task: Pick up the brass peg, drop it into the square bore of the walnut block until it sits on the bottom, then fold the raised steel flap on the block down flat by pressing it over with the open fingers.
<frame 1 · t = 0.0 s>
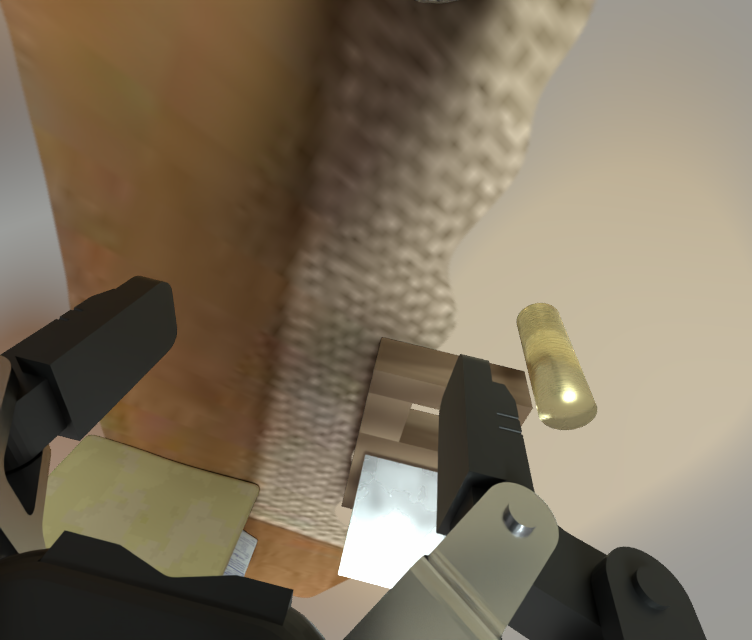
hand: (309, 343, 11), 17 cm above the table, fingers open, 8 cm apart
cheese: (174, 467, 50), on the table
medicine box: (232, 535, 58), on the table
steel flap: (411, 525, 32), point 8 cm above the table, hinge at 60.0°
brass peg: (537, 320, 29), on the table
walnut block: (423, 429, 38), on the table
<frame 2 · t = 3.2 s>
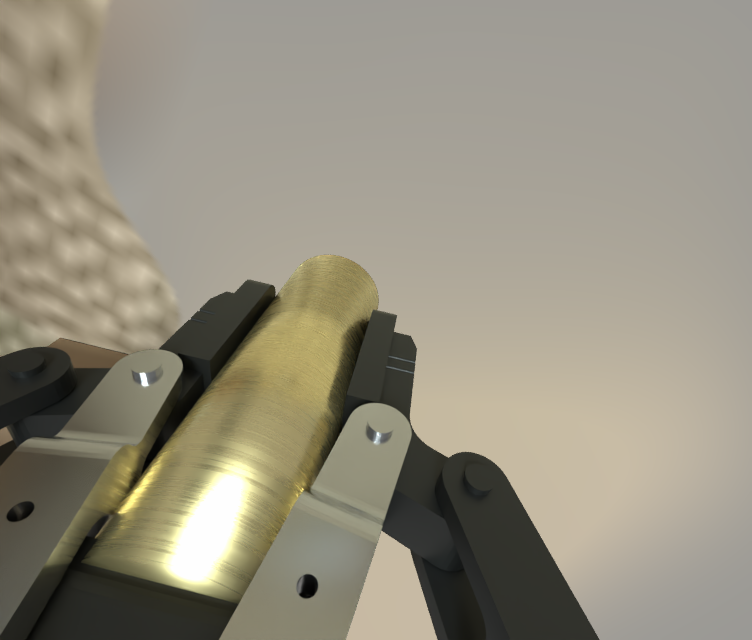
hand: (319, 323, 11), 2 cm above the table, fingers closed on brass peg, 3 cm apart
brass peg: (333, 297, 13), on the table, touching gripper
walnut block: (213, 505, 21), on the table
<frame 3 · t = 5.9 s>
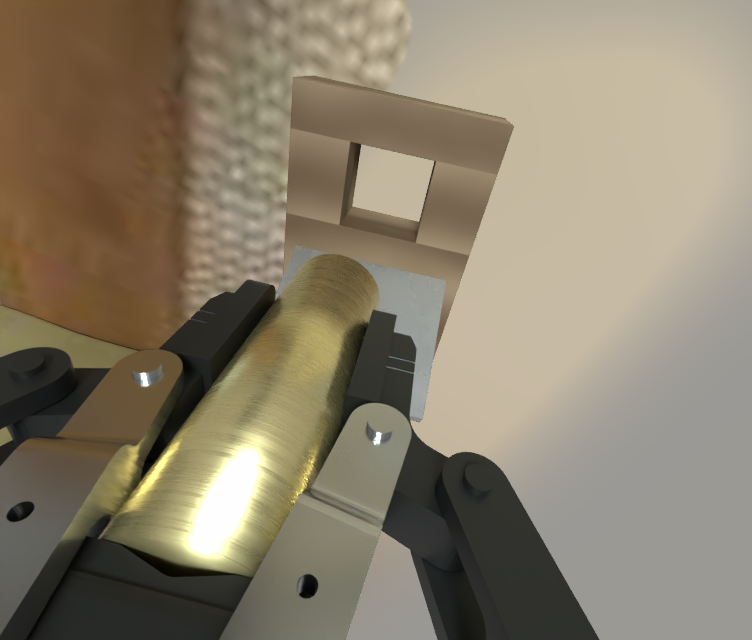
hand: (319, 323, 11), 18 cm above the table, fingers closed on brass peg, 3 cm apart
cheese: (81, 345, 41), on the table
steel flap: (353, 327, 23), point 8 cm above the table, hinge at 60.0°
brass peg: (335, 295, 13), point 16 cm above the table, touching gripper
walnut block: (379, 246, 29), on the table
when the fingers open (5 cm above the table, at t = 8.5 s): brass peg drops 3 cm, resting in walnut block.
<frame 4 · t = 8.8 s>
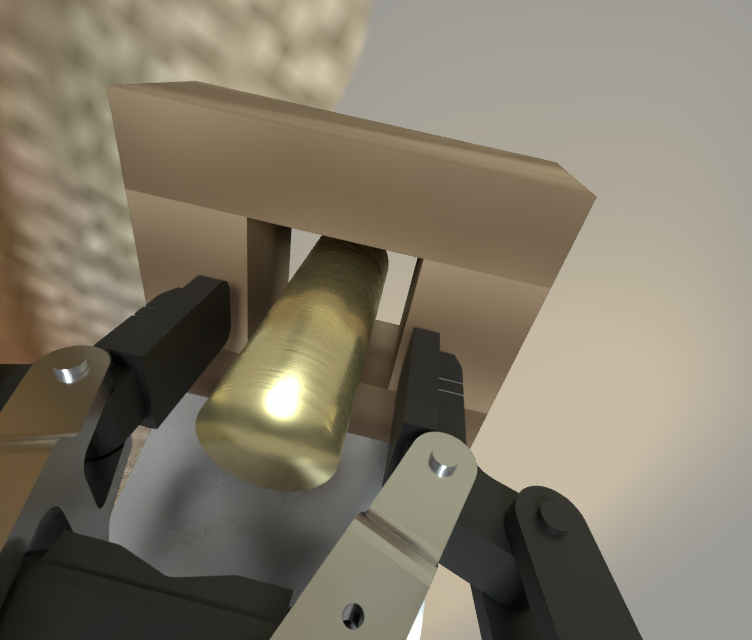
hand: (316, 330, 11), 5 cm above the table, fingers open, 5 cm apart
steel flap: (264, 567, 12), point 8 cm above the table, hinge at 60.0°
brass peg: (350, 261, 15), resting in walnut block
walnut block: (336, 355, 18), on the table
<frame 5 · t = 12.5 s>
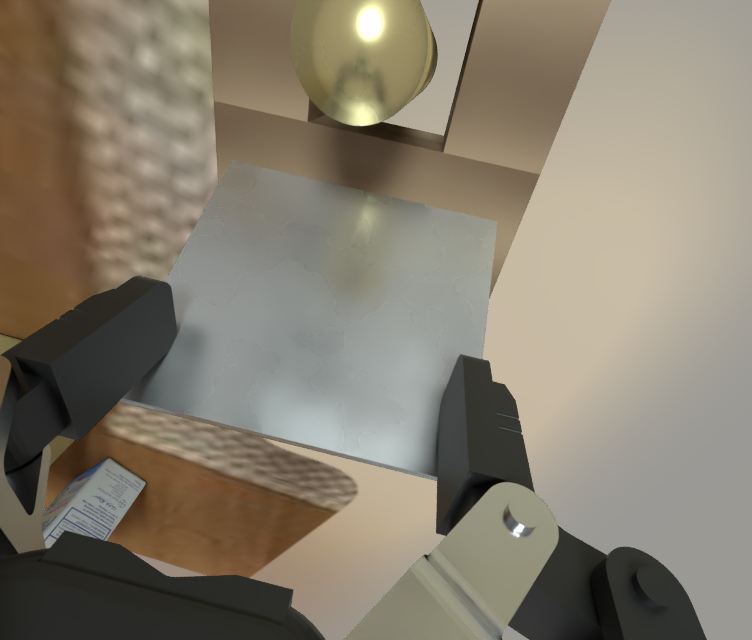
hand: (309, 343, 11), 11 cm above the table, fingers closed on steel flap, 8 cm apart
medicine box: (111, 478, 38), on the table
steel flap: (330, 302, 13), point 8 cm above the table, hinge at 59.8°, touching gripper
brass peg: (400, 58, 16), resting in walnut block
walnut block: (378, 180, 19), on the table
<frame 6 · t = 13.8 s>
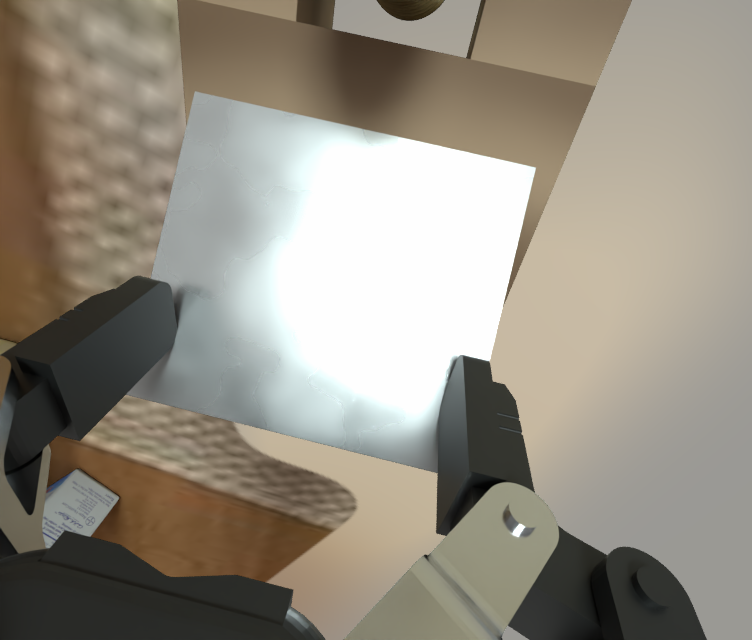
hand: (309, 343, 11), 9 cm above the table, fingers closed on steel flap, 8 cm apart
medicine box: (81, 492, 34), on the table
steel flap: (328, 284, 12), point 7 cm above the table, hinge at 31.7°, touching gripper
walnut block: (384, 126, 15), on the table
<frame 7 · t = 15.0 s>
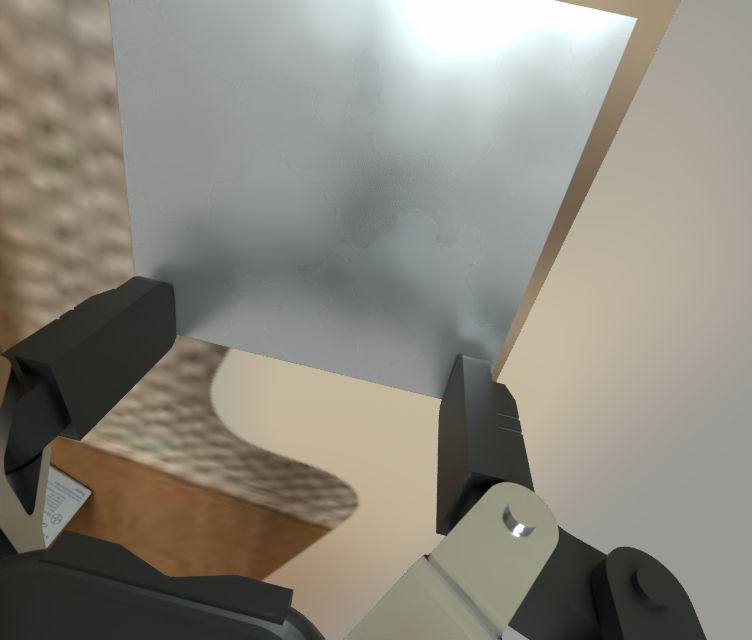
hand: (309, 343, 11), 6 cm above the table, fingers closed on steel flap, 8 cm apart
medicine box: (51, 485, 31), on the table
steel flap: (333, 205, 9), point 5 cm above the table, hinge at 6.7°, touching gripper
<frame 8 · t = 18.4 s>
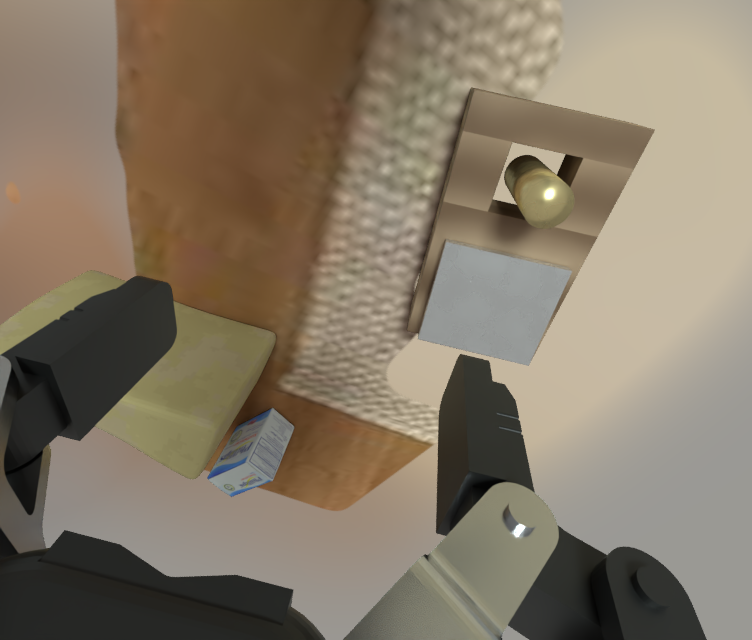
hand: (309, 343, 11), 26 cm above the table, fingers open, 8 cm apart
cheese: (183, 316, 46), on the table
medicine box: (266, 424, 54), on the table
steel flap: (489, 305, 33), point 5 cm above the table, hinge at 6.6°
brass peg: (523, 174, 31), resting in walnut block
walnut block: (501, 231, 34), on the table
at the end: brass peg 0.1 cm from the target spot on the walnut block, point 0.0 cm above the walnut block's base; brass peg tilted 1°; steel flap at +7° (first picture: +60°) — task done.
